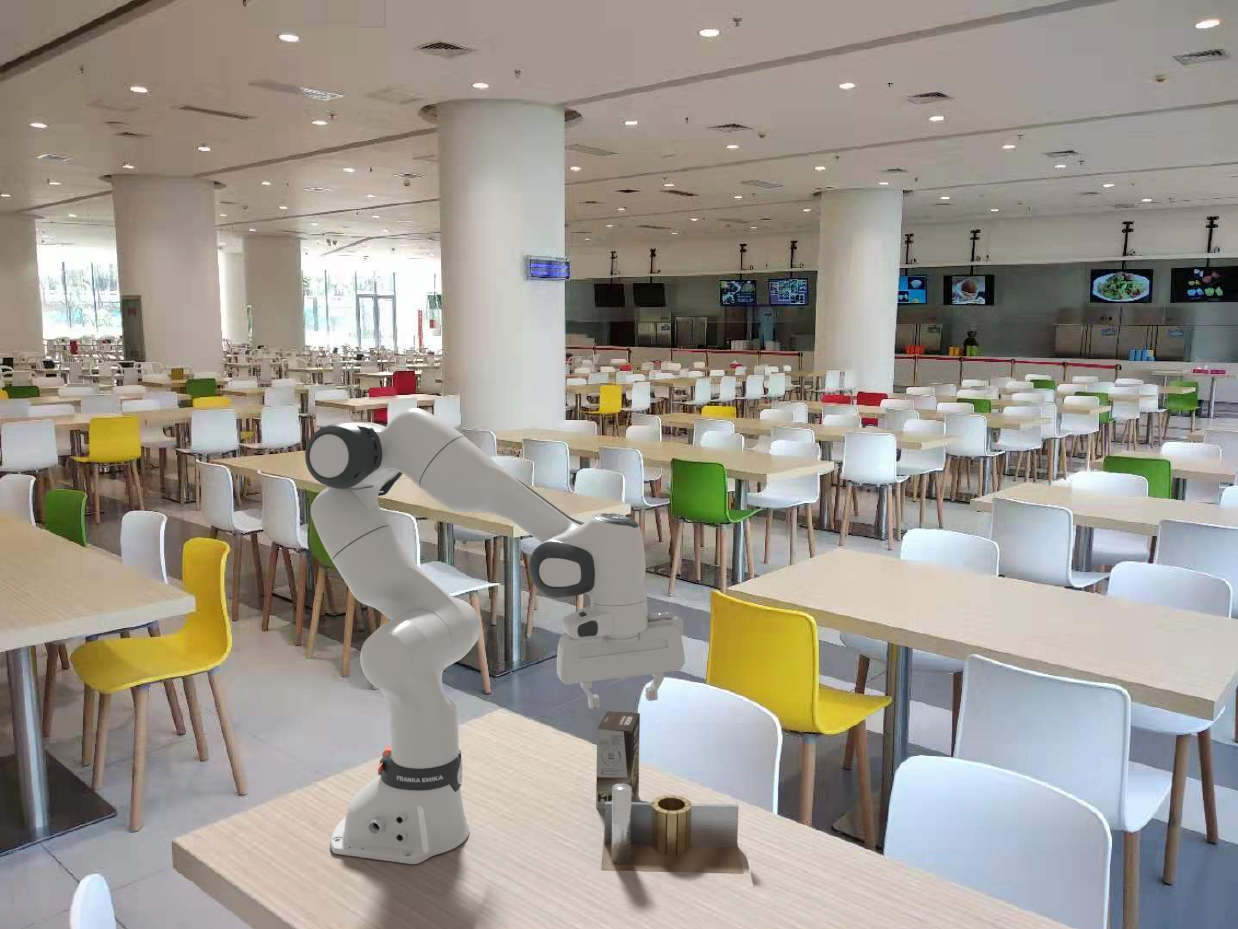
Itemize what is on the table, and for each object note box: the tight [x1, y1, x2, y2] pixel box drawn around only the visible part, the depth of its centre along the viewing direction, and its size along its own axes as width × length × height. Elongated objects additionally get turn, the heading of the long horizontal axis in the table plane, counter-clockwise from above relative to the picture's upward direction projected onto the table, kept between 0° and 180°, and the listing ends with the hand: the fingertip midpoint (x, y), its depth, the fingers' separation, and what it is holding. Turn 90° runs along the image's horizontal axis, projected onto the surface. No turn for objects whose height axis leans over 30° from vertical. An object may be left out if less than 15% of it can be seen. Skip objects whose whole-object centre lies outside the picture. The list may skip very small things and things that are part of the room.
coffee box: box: [595, 710, 641, 810], centre depth 171 cm, size 9×6×16 cm
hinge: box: [603, 794, 739, 855], centre depth 155 cm, size 22×6×7 cm, turn 89°
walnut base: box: [600, 830, 744, 875], centre depth 154 cm, size 22×12×2 cm, turn 89°
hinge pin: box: [612, 783, 631, 865], centre depth 150 cm, size 3×3×12 cm
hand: (623, 703), depth 150 cm, fingers open, 8 cm apart
